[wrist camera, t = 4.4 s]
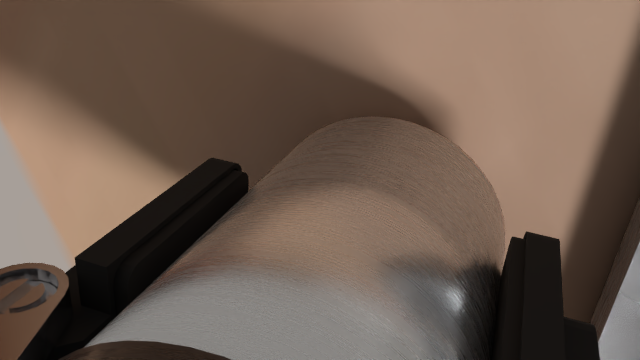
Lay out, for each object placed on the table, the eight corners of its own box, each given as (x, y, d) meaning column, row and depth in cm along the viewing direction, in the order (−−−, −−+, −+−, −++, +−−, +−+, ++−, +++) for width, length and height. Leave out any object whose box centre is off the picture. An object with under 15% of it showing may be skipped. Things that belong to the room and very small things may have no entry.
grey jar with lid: (480, 359, 13) (406, 894, 6) (264, 295, 14) (-6, 664, 7) (540, 141, 10) (536, 599, 3) (273, 89, 12) (-113, 342, 5)
